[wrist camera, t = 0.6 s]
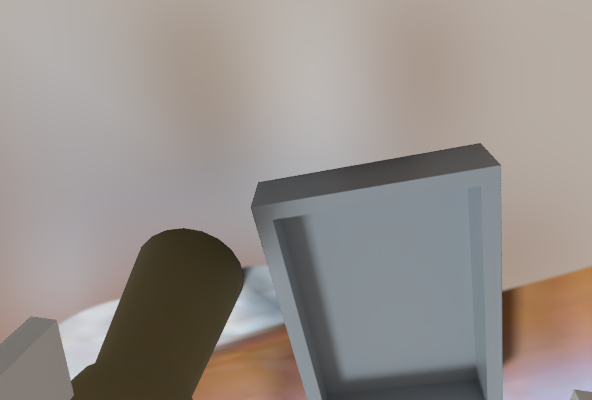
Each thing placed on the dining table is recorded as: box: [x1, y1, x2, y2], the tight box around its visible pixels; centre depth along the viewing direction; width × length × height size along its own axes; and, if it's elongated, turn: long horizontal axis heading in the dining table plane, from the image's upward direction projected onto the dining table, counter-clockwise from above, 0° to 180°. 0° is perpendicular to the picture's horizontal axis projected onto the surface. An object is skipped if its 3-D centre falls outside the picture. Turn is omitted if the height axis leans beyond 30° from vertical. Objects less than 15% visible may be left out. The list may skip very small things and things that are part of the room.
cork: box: [71, 228, 243, 400], centre depth 20 cm, size 6×6×11 cm
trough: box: [251, 144, 503, 400], centre depth 23 cm, size 16×11×3 cm
